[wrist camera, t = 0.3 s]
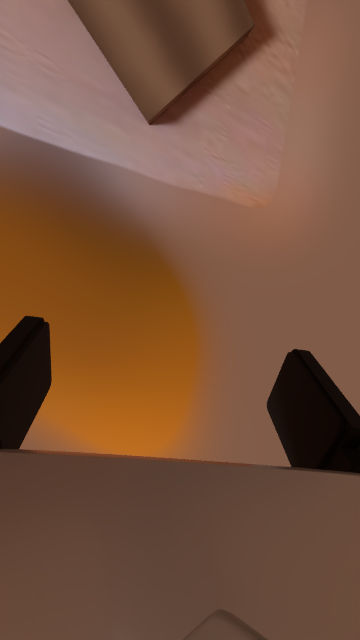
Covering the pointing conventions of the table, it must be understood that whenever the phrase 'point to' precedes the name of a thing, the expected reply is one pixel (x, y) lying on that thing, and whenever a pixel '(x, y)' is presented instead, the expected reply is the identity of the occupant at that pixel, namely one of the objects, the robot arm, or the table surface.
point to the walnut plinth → (163, 43)
